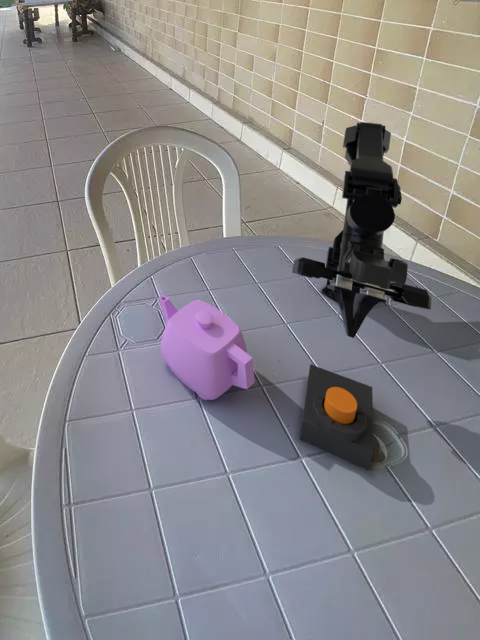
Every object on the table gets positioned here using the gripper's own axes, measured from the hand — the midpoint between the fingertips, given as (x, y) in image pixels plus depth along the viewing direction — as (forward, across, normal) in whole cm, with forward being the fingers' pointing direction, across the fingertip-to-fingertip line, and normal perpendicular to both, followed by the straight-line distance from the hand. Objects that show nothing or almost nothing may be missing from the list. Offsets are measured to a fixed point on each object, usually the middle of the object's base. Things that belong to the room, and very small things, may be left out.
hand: (350, 336), depth 67 cm
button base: (+13, 0, +3) cm, 14 cm away
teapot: (+14, -21, +7) cm, 26 cm away
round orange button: (+11, -1, -2) cm, 11 cm away
